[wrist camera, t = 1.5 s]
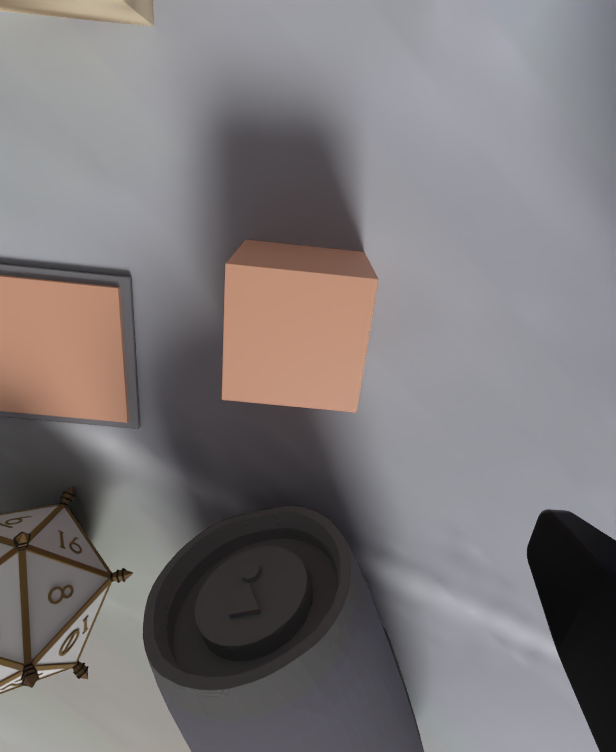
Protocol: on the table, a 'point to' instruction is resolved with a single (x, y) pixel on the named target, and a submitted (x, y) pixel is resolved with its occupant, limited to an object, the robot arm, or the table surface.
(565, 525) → the robot arm
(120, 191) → the table surface
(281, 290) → the terracotta cube
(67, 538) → the game die
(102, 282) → the tile
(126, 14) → the maple base block
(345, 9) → the table surface
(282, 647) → the bluetooth speaker
